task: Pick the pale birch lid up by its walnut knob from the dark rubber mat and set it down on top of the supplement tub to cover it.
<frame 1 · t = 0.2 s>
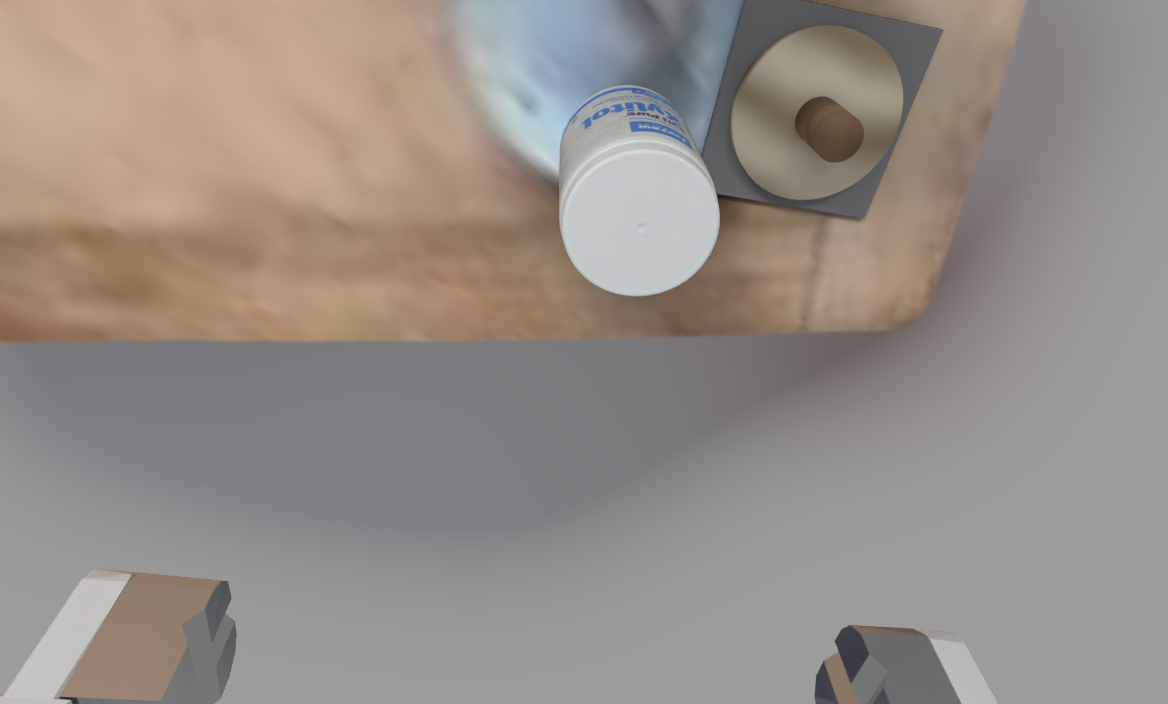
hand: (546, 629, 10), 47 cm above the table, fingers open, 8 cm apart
mat: (809, 112, 53), on the table
lid: (811, 114, 53), point 1 cm above the table, touching mat
supplement tub: (621, 147, 54), on the table
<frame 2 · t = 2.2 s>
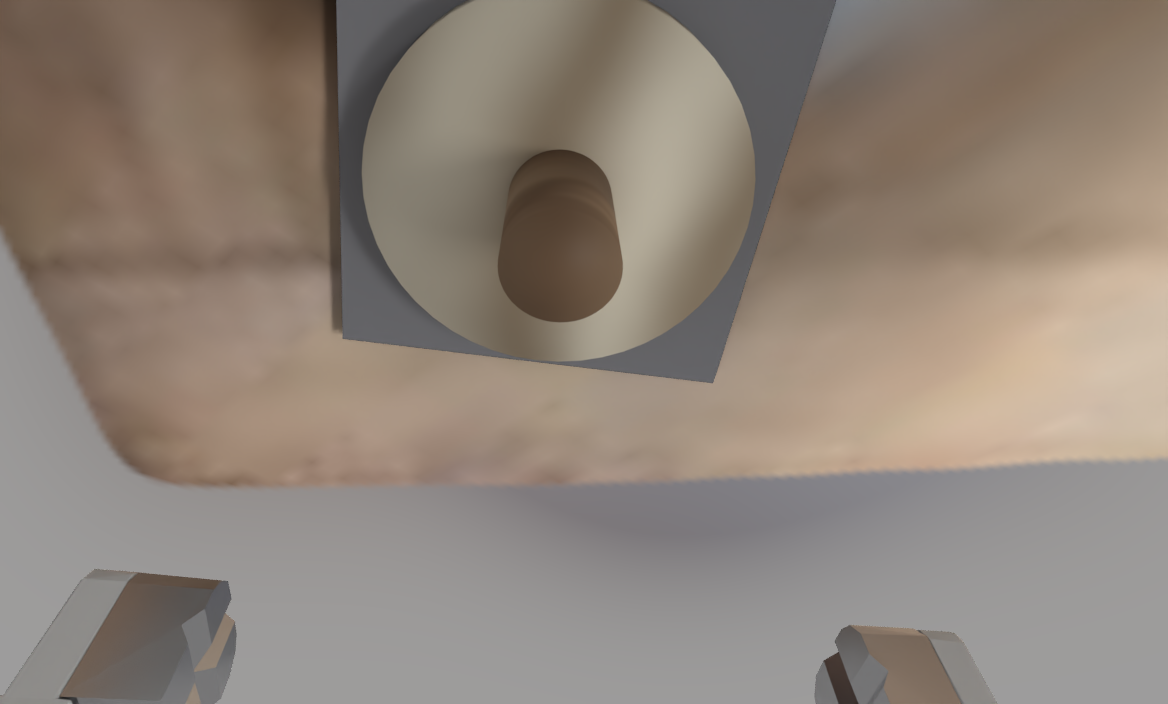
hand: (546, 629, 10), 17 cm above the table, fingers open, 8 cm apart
mat: (560, 178, 24), on the table
lid: (560, 184, 24), point 1 cm above the table, touching mat
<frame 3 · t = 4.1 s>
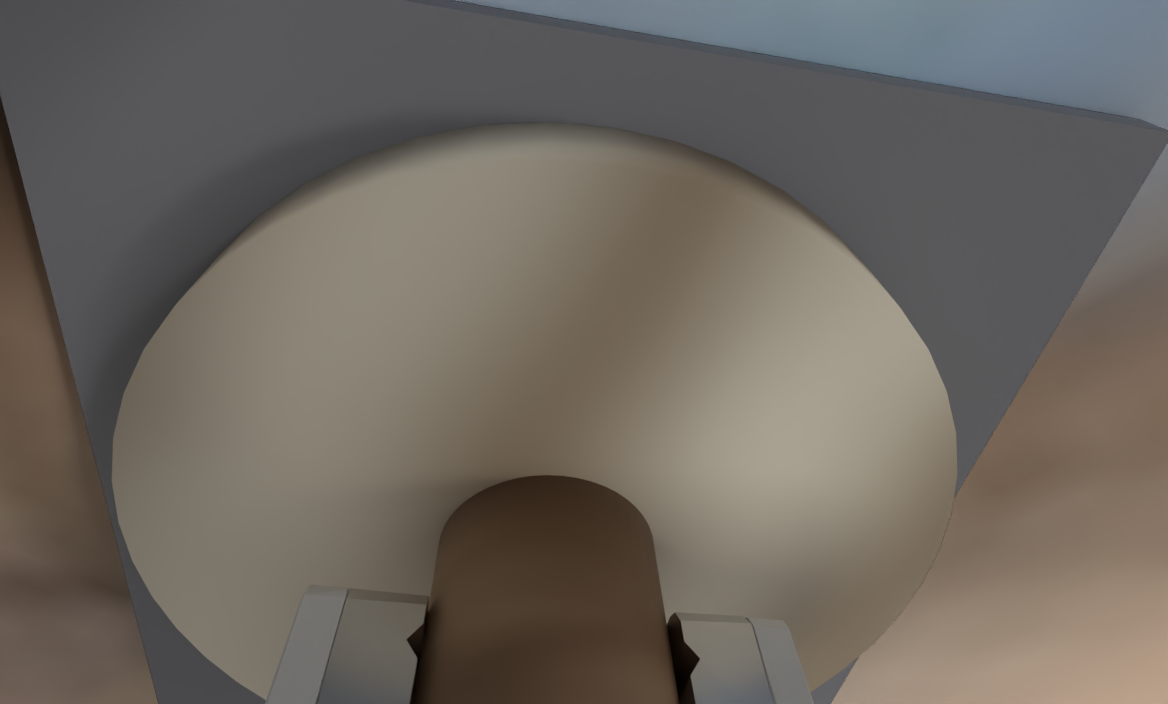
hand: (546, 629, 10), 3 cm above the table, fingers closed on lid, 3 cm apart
mat: (545, 464, 12), on the table
lid: (547, 489, 12), point 1 cm above the table, touching gripper, mat
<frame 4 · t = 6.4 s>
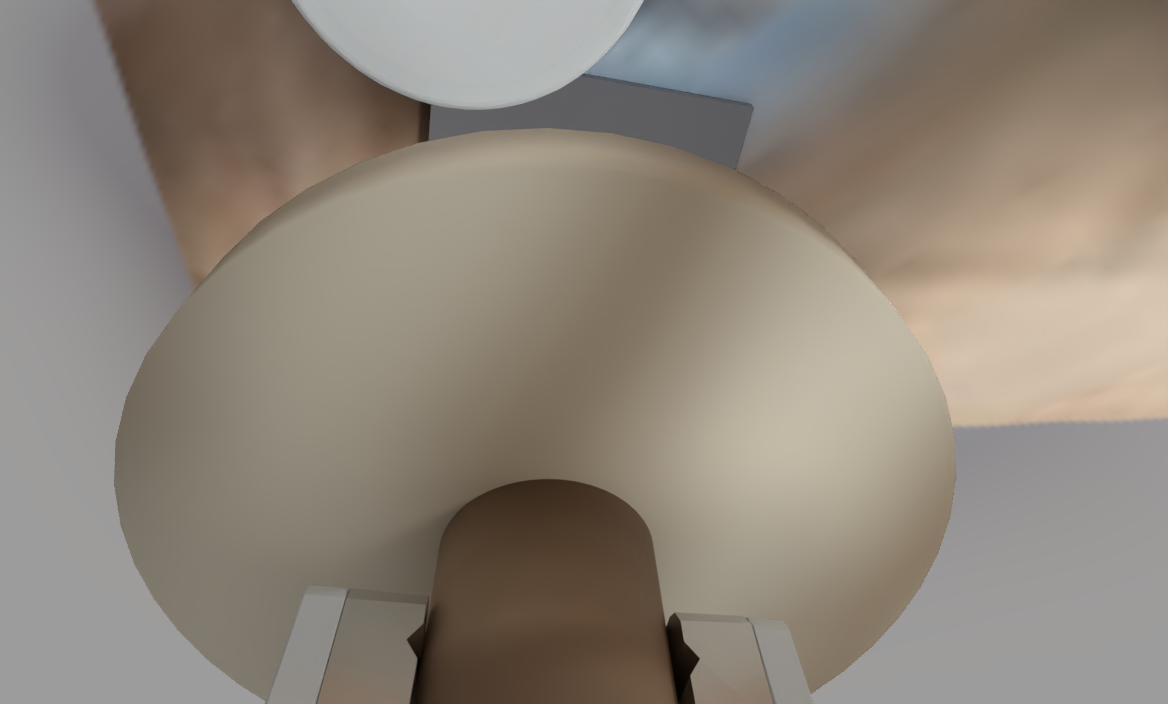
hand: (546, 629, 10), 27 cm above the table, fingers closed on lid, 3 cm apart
mat: (570, 224, 35), on the table
lid: (547, 492, 12), point 24 cm above the table, touching gripper
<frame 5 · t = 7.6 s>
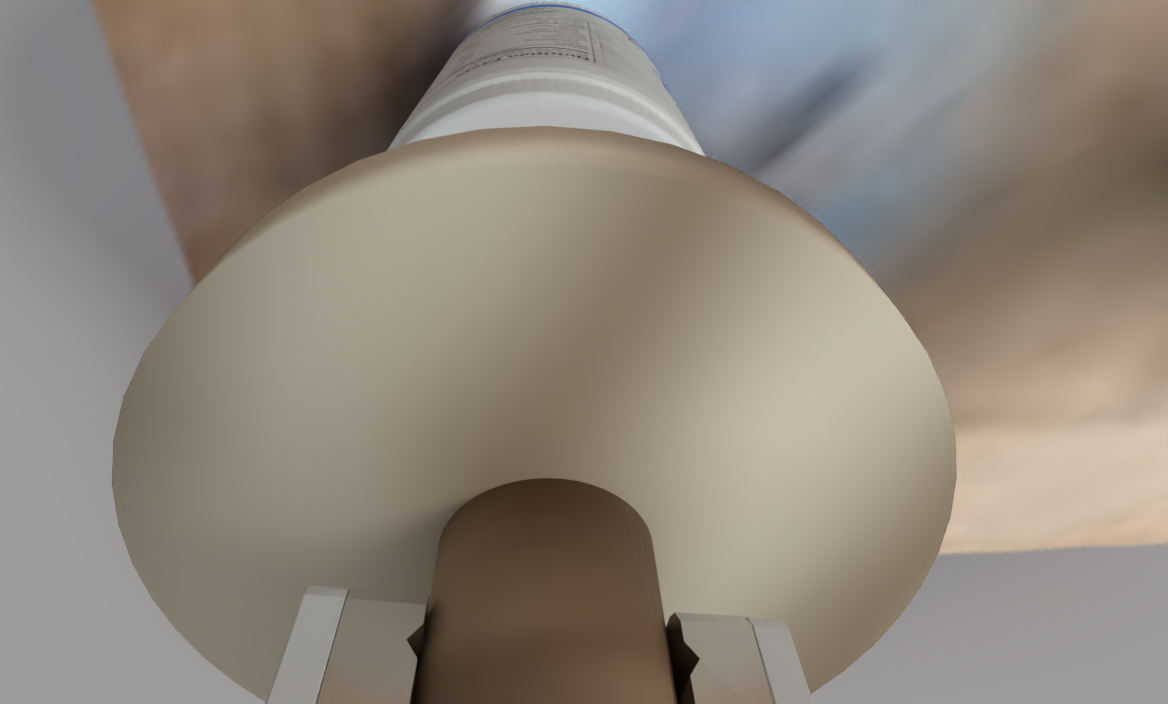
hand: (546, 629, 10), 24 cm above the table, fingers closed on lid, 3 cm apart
lid: (546, 491, 12), point 21 cm above the table, touching gripper
supplement tub: (551, 122, 30), on the table
when the fingers open (20 cm above the table, at t = 8.6 s): lid drops 2 cm, resting on supplement tub.
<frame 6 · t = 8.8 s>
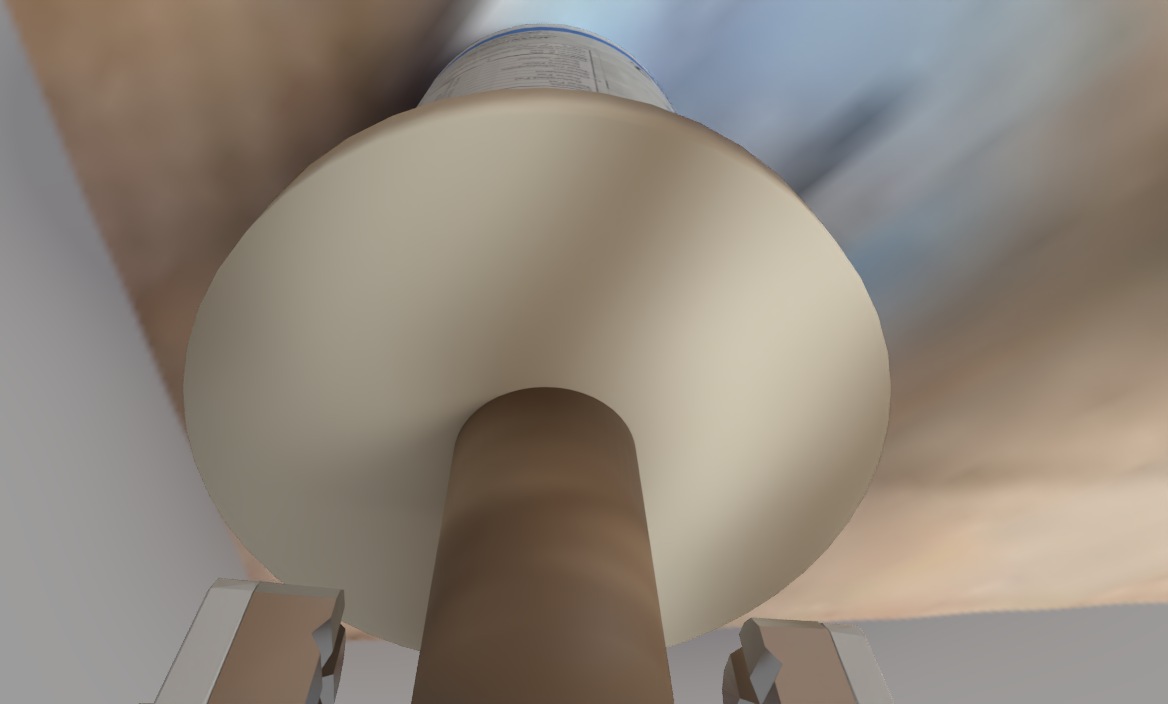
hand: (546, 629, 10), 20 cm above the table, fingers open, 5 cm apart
lid: (545, 412, 14), point 15 cm above the table, touching supplement tub
supplement tub: (546, 157, 26), on the table, touching lid
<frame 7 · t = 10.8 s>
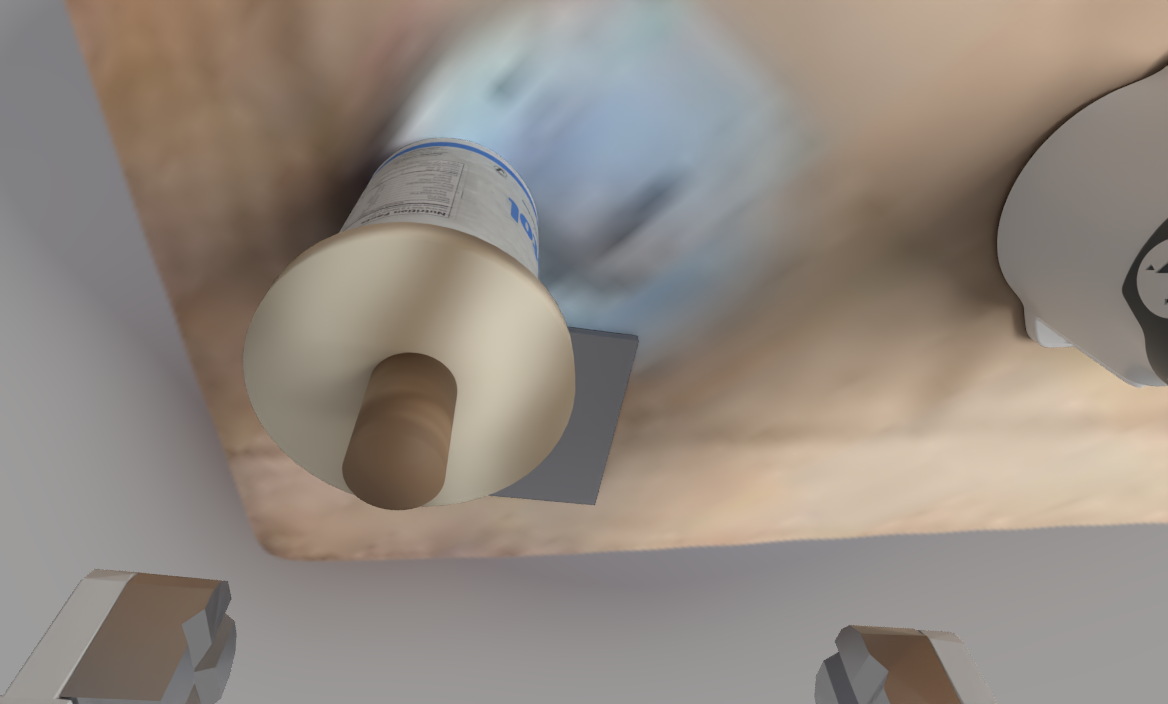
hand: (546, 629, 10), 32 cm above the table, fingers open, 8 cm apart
mat: (510, 412, 48), on the table
lid: (418, 367, 28), point 15 cm above the table, touching supplement tub
supplement tub: (452, 215, 40), on the table, touching lid
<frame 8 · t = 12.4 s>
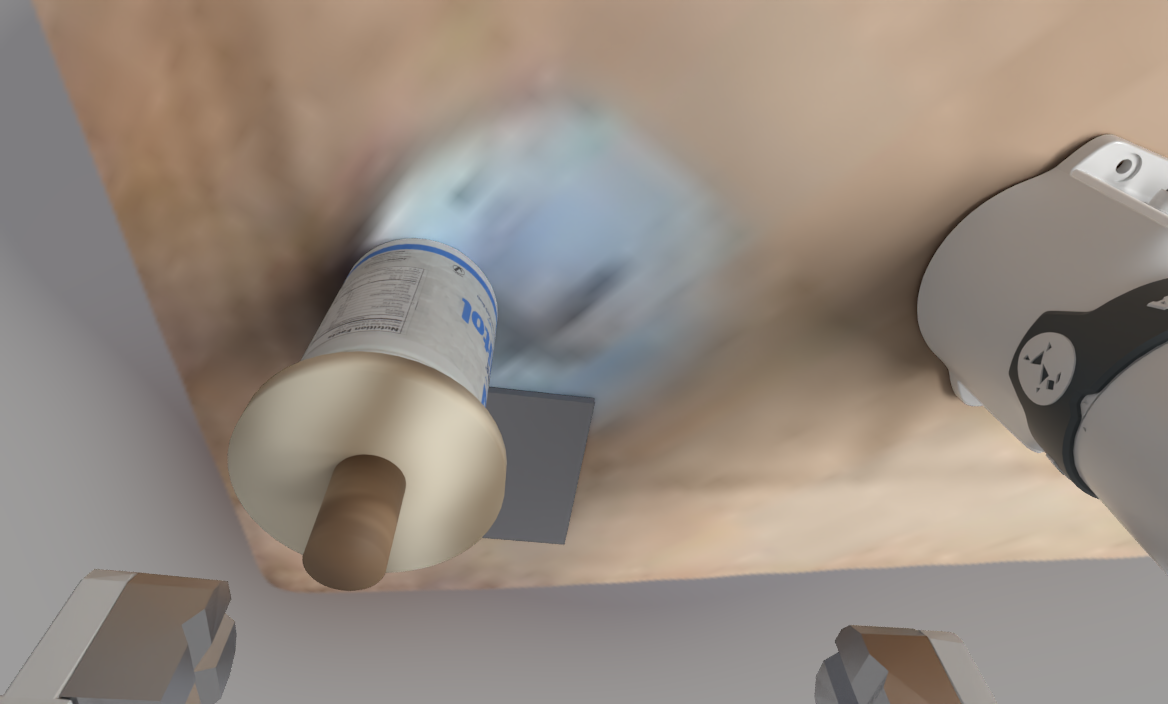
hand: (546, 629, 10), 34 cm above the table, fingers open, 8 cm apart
mat: (483, 464, 53), on the table
lid: (375, 460, 33), point 15 cm above the table, touching supplement tub
supplement tub: (422, 300, 46), on the table, touching lid
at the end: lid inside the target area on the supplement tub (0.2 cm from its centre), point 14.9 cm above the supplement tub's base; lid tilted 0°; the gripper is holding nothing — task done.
